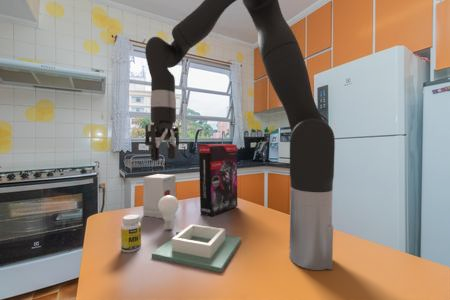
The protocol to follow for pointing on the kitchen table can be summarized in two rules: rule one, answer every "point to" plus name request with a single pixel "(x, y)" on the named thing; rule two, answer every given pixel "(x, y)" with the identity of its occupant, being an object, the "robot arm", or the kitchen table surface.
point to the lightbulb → (168, 210)
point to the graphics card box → (217, 178)
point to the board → (199, 247)
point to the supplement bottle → (131, 233)
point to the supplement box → (156, 192)
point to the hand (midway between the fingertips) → (163, 159)
